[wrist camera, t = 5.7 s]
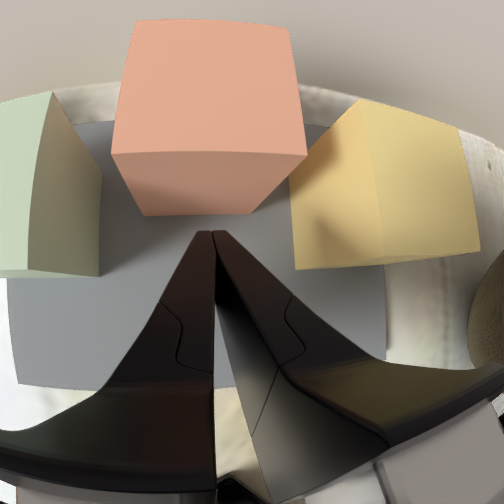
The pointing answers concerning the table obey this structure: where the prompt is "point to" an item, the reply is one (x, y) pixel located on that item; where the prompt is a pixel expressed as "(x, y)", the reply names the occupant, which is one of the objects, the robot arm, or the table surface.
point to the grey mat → (157, 277)
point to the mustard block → (382, 192)
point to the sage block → (46, 193)
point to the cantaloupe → (488, 318)
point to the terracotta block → (207, 116)
